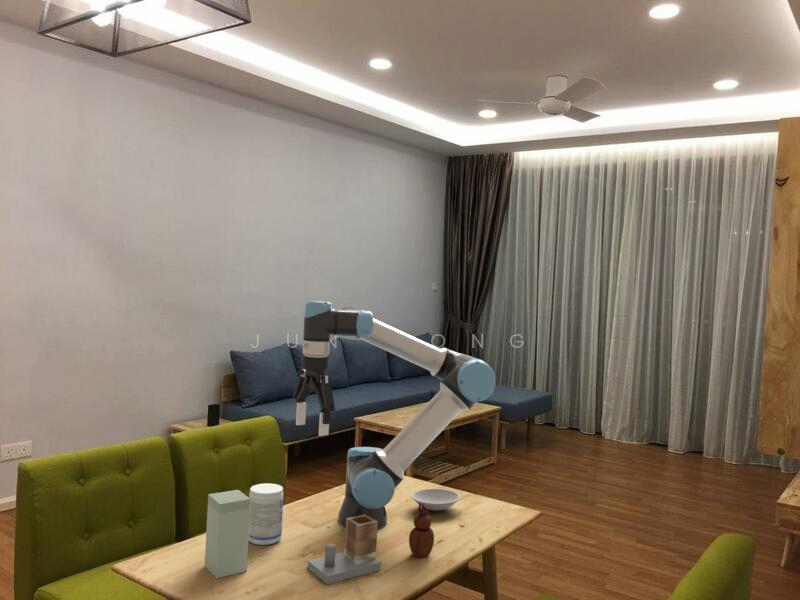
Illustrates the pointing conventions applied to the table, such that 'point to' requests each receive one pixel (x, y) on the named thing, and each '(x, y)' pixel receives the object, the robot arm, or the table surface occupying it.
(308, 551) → the table surface
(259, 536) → the supplement tub
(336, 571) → the pin board
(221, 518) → the tower
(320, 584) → the table surface
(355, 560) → the sleeve
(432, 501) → the dish
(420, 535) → the wooden figurine
